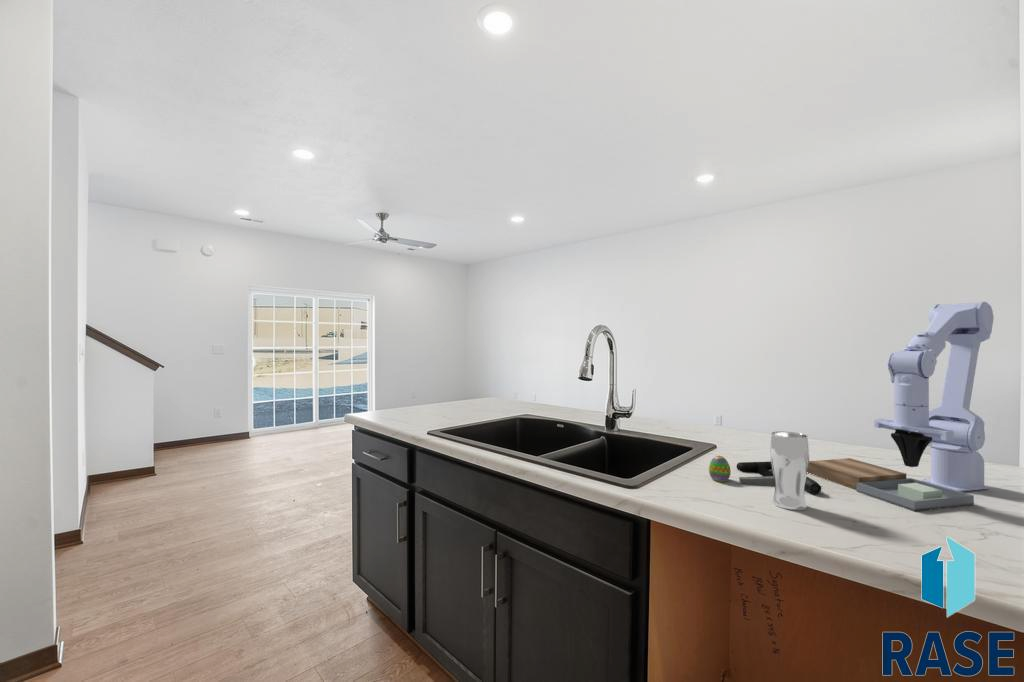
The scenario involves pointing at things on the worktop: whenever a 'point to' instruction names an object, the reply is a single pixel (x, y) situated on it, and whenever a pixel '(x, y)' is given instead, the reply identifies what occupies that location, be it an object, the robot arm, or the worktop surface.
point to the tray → (889, 493)
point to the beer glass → (789, 468)
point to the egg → (719, 469)
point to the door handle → (769, 476)
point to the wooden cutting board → (852, 471)
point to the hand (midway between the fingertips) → (911, 466)
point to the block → (918, 491)
